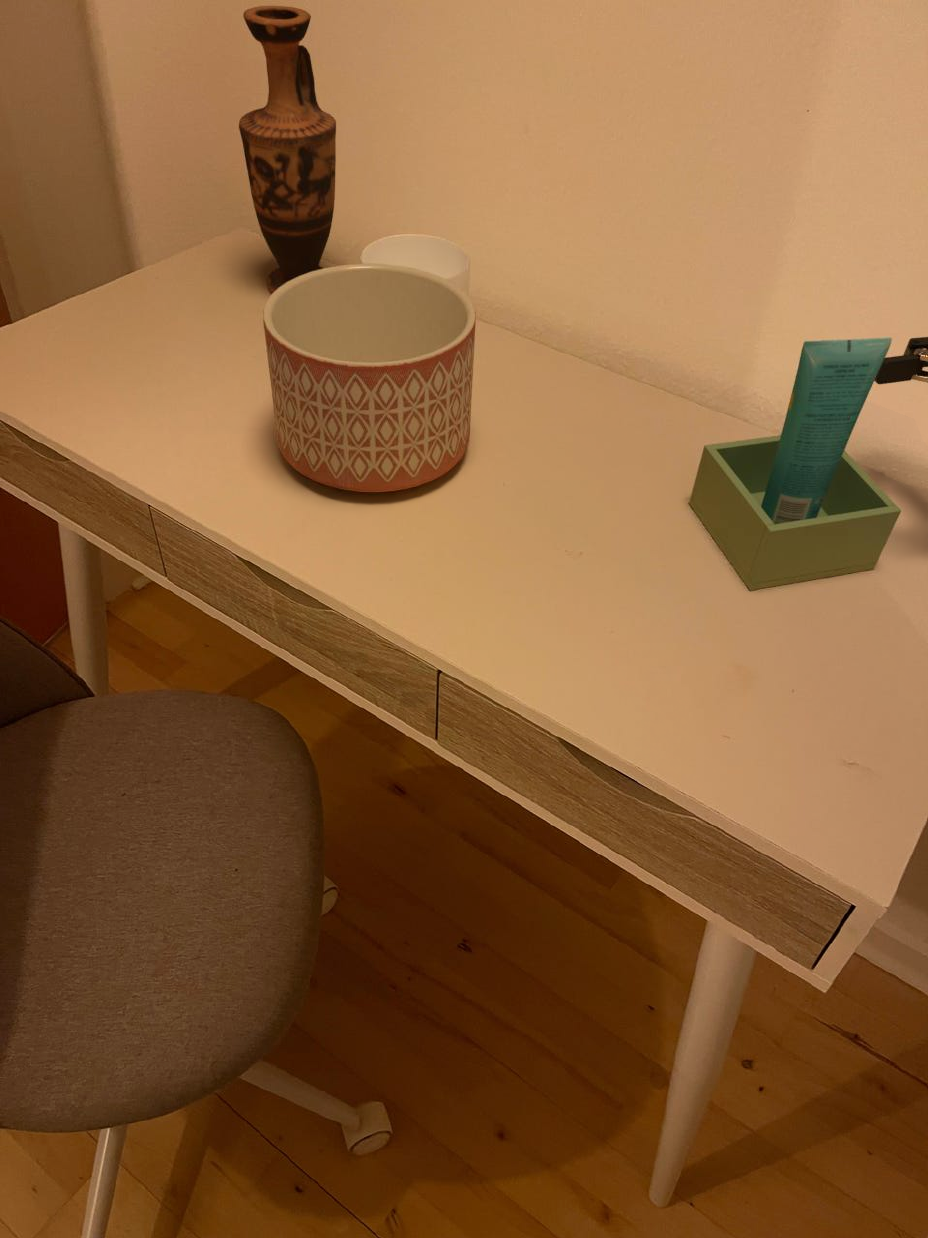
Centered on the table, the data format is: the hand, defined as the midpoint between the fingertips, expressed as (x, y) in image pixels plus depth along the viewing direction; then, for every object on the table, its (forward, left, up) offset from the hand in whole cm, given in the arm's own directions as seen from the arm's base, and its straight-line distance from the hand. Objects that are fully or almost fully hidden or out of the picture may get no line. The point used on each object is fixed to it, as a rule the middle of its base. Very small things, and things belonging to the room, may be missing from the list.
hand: (905, 397), depth 80 cm
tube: (0, +8, -13) cm, 15 cm away
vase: (+58, +44, -14) cm, 74 cm away
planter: (+22, +42, -14) cm, 49 cm away
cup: (+38, +34, -14) cm, 53 cm away
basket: (0, +8, -14) cm, 16 cm away
